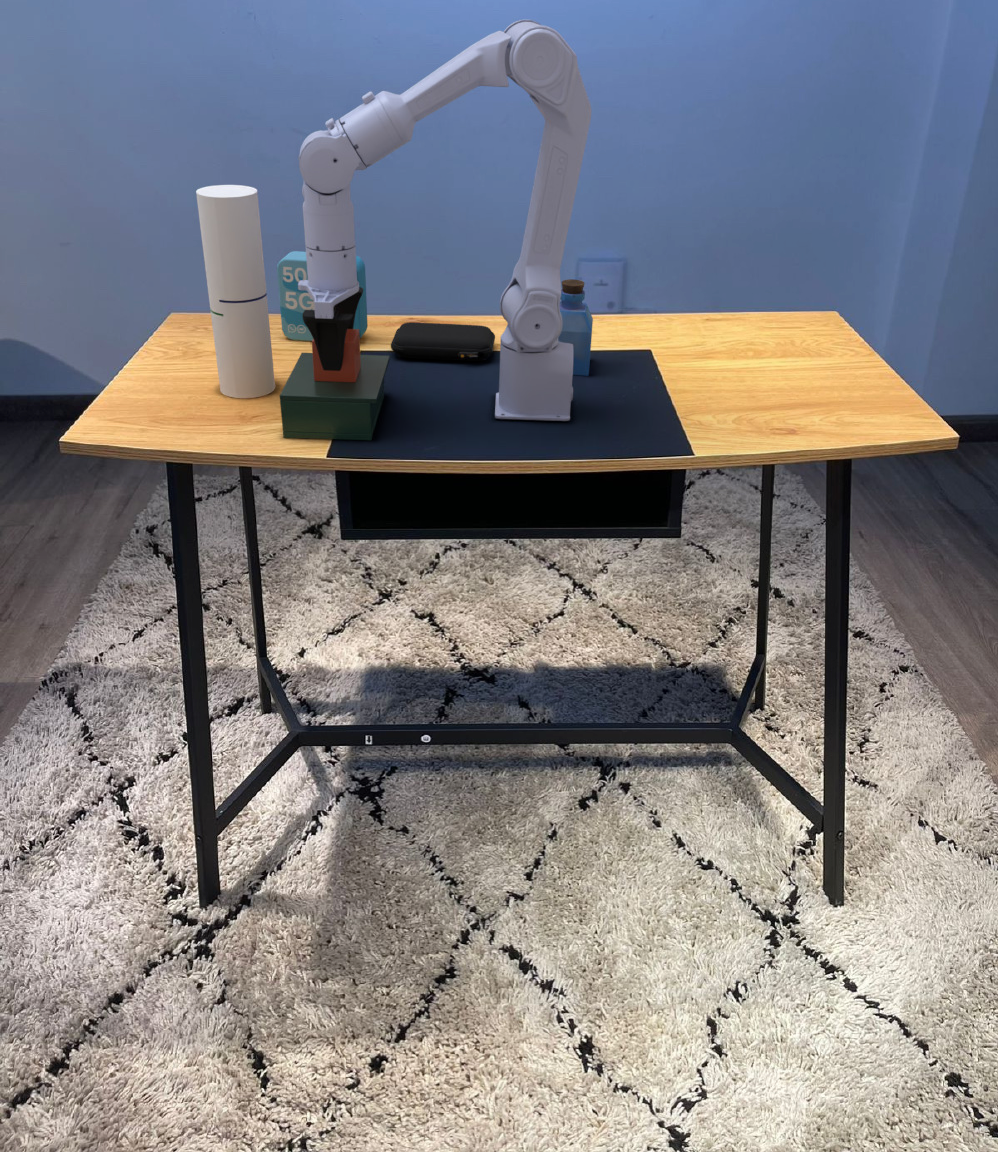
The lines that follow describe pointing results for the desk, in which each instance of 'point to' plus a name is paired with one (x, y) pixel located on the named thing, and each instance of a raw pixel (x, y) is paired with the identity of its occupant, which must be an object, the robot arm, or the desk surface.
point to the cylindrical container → (237, 289)
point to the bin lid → (359, 391)
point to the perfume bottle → (576, 324)
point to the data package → (308, 296)
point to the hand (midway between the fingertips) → (337, 358)
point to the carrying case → (443, 341)
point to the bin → (330, 419)
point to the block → (349, 364)
